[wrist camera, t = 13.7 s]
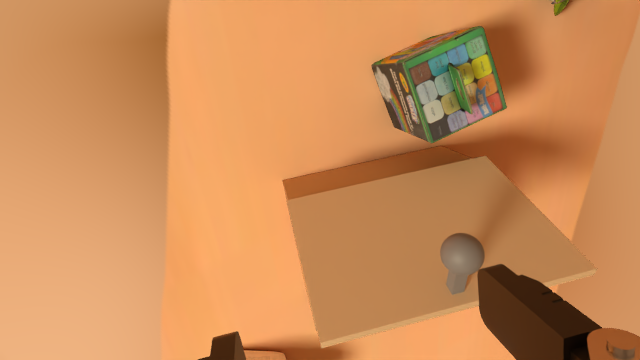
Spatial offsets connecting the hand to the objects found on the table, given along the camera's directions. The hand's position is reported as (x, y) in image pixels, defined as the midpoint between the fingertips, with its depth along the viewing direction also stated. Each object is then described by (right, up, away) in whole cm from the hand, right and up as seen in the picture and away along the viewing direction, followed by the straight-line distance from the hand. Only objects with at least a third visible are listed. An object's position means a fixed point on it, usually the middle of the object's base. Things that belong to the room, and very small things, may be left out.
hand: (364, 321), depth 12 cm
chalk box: (+11, +17, +37) cm, 43 cm away
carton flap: (+8, -1, +23) cm, 25 cm away
